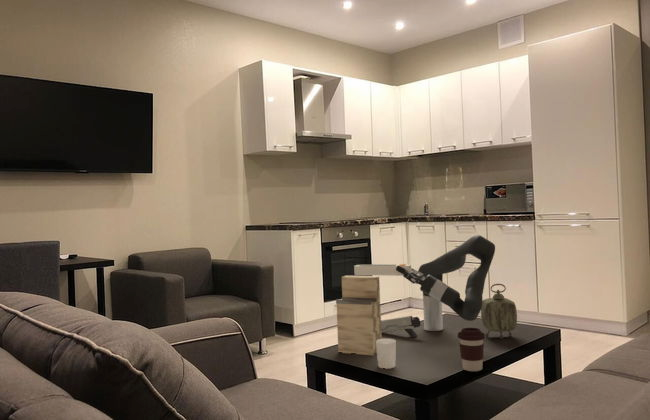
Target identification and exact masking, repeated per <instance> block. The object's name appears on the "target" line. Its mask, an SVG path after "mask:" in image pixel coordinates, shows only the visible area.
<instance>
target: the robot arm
mask: <svg viewBox="0 0 650 420" xmlns="http://www.w3.org/2000/svg"><path fill="white" fill-rule="evenodd" d="M495 252H496V245H495V243H493V242H492V241H490V240H489V239H487V238H486V237H484V236H482V235H480V234H475V235H473V236H471V237H470V238H468V239H467V240H466V241H464V242H463V243H462V244H460V245H458V246H457V247H455V248H453V249H452V250H449V251H447V252H446V253H444V254H442V255H440V256H438V257H437V258H435V259H434V260H432V261H431V260H430V261H429V262H426V263H423V264H421V265H420V266H419V268H418V270H417V269H414V268H412V267H411V272H410V271H408V270H406V269H404V268H402V267H401V266H397V268H396V270H397V271H398V272H400V273H402V274H403V278H404V279H406V280H407V281H409V282H411V284H414V285H420V288H419V290H420V291H421V292H422V302H423V305H422V306H423V328H424V330H425V331H427V332H429V331H430V332H439V331H443V328H444V327H443V323H444V322H443V320H444V319H443V304H444V305H446V306H447V307H449V308H450V309H451V310H452V311H453V312H454V313H455V314H456V315H458V316H459V317H460V318H462V319H463V320H465V321H468V322H472V321H473V322H474V321H475V320H476V319H477V318H478V317H479V315H480V314H481V308H482V302H483V300H484V299H483V294H484V289H485V283H486V279H487V275H488V272H489V269H490V267H491V264H492V261H493V259H494V256H495ZM467 255H471V256H473V257H474V258H476V259H477V260H479V261H480V265H479V266H478V267H477V268H476V269H475V270H474V271H472V272H471V273H470V274H469V275H468V277H467V279H466V285H465V290H464V293H465V298H464V300H463V299H462V298H461V293H460V292H459V291H458V290H455V288H452V287H450V286H449V285H447V284H446V283H445V282H444V281H443V279H444V278H443V275H444V274H445V275H446V274H448V273H453V272H455V271H457V270H459V269H461V268H463V267H464V266H465V264H466V261H467V260H466V259H467ZM407 274H408V275H409V276H407Z"/></svg>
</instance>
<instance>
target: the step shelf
mask: <svg viewBox="0 0 650 420" xmlns="http://www.w3.org/2000/svg"><path fill="white" fill-rule="evenodd" d="M380 287H381V286H380V275H343V276H341V292H342V293H341V294H342V295H341V296H342V297H341V299H335V303H336V322H337V323H336V326H337V328H336V329H337V350H338V351H337V352H342V354H351V353H356V354H355V355H363V356H364V355H366V356H374V355H376V354H377V351H376V340H378V339H383V338H382V333H381V320H382V314H381V313H382V311H381V289H380Z"/></svg>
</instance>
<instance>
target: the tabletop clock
mask: <svg viewBox="0 0 650 420" xmlns="http://www.w3.org/2000/svg"><path fill="white" fill-rule="evenodd" d="M494 286H502V287H503V288H504V289H503V290H500V289H497V290H496V291H495V290H493V289H492V288H493V287H494ZM506 290H507V287H506V286H505V285H504V284H502V283H494V284H492V285H491V286H490V291H491V292H492V293H494V294H493V296H492V297H489V298H485V299H482V300H483V301H482V308H481V311H480V315H481V322H482V323H481V324H482V325H483V327H484V328H485V329H486V330H487V332H486V333H484V334H485V337H489V335H490V334H489V333H490V332H499V334H500V335H499V339H500V340H503V339H504V335H502V334H503V333H505V332H508V333H507V334H508V336H509V337H511V336H512V332H511V331H514V330H515V329H516V328H517V324H518V323H517V322H518V314H517V313H518V311H517V306H516V303H515V302H514V301H513V300H511V299H509V298H506V297H504V295H503V294H502V293H504V292H505V291H506Z"/></svg>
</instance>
